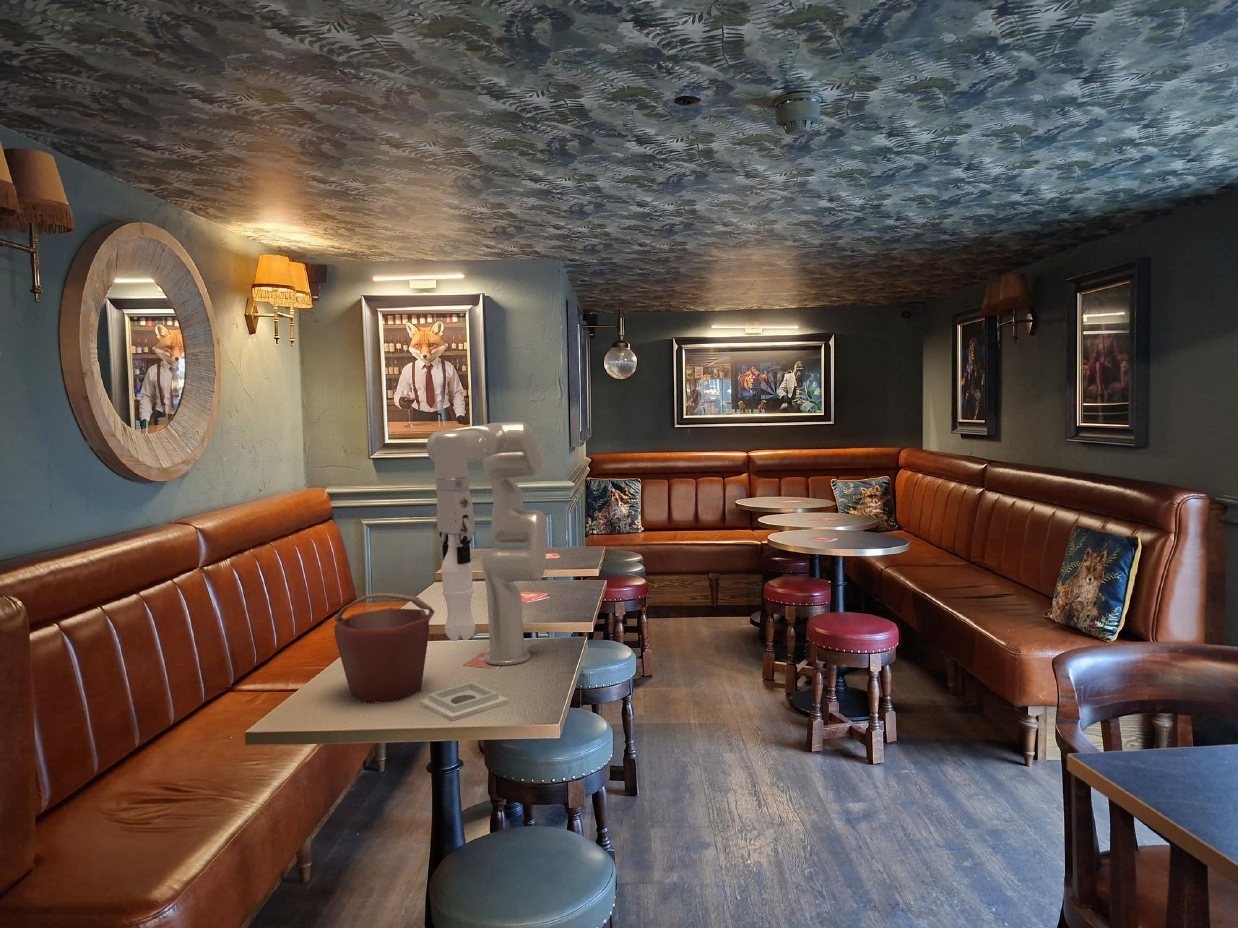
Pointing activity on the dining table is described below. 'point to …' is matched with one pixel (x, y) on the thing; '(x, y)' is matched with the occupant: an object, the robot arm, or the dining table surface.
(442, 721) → the dining table surface
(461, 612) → the water bottle
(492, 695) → the plate
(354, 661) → the bucket
